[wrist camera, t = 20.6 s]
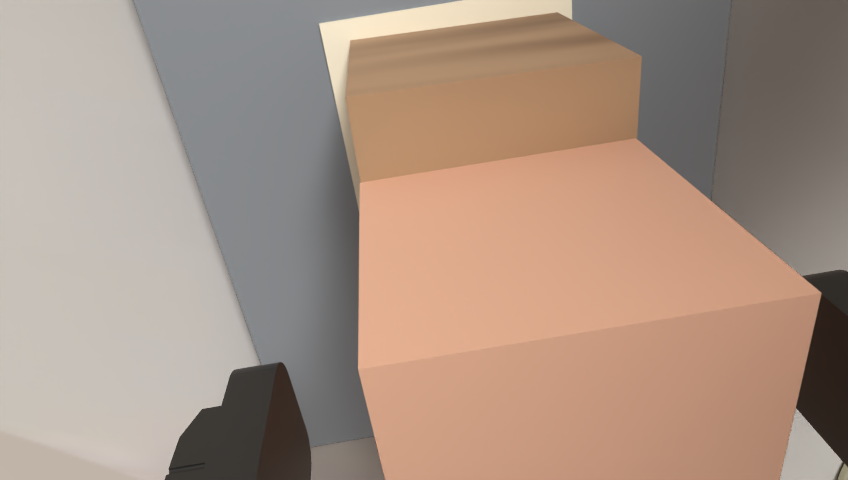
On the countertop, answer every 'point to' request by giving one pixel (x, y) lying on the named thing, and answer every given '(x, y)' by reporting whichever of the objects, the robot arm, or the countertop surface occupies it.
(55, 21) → the countertop surface
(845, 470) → the can
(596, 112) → the walnut brick
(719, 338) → the peach cube
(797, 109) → the countertop surface
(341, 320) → the board
